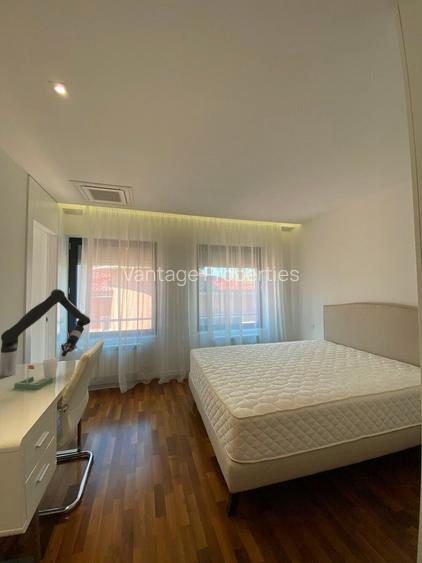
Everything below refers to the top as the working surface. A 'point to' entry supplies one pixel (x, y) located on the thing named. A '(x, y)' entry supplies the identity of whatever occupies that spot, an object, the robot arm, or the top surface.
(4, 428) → the top surface
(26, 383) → the green pocket
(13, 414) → the top surface
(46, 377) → the foam cup
